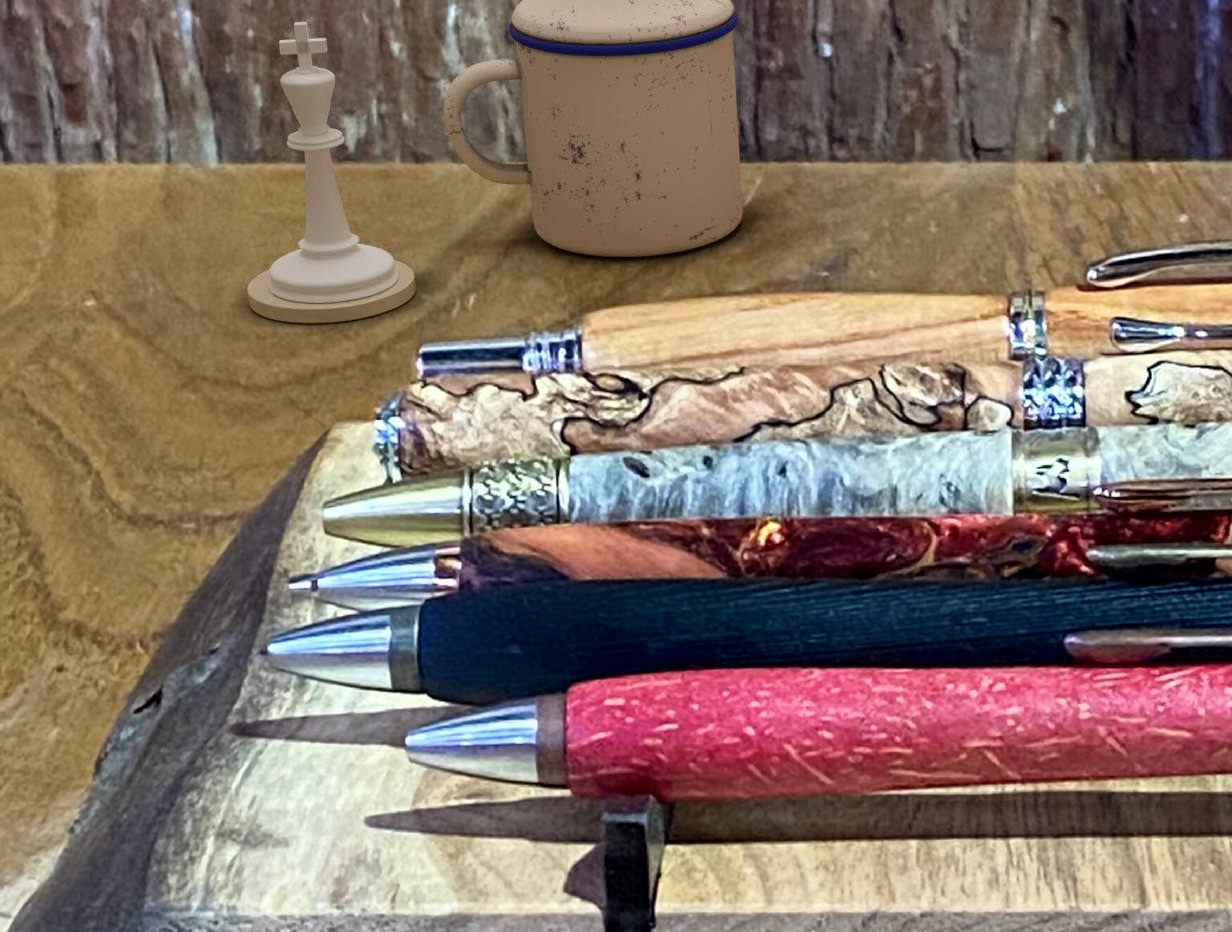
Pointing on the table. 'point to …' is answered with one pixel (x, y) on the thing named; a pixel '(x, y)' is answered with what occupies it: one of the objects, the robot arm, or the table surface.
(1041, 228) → the table surface
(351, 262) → the chess piece
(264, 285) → the coaster
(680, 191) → the teacup with lid
